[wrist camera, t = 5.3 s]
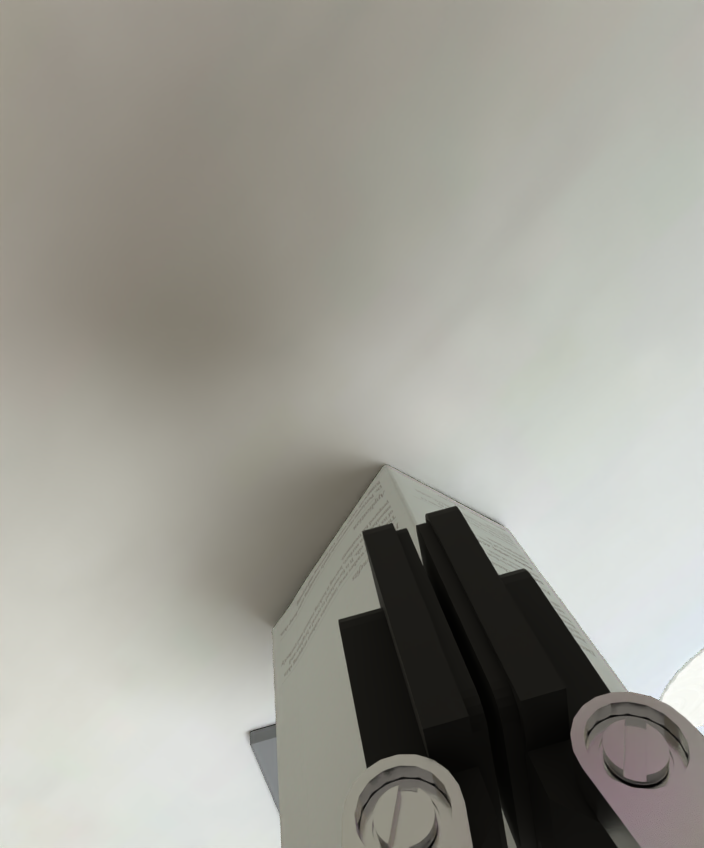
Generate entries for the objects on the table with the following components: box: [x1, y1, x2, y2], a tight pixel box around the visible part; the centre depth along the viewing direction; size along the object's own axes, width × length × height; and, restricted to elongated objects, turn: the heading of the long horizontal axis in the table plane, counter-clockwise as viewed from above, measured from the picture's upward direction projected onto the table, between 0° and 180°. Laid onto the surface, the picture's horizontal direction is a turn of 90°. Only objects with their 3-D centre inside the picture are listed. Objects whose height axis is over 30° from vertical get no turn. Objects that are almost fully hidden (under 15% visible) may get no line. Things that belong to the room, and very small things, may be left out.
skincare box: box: [272, 465, 628, 848], centre depth 16 cm, size 8×6×15 cm
